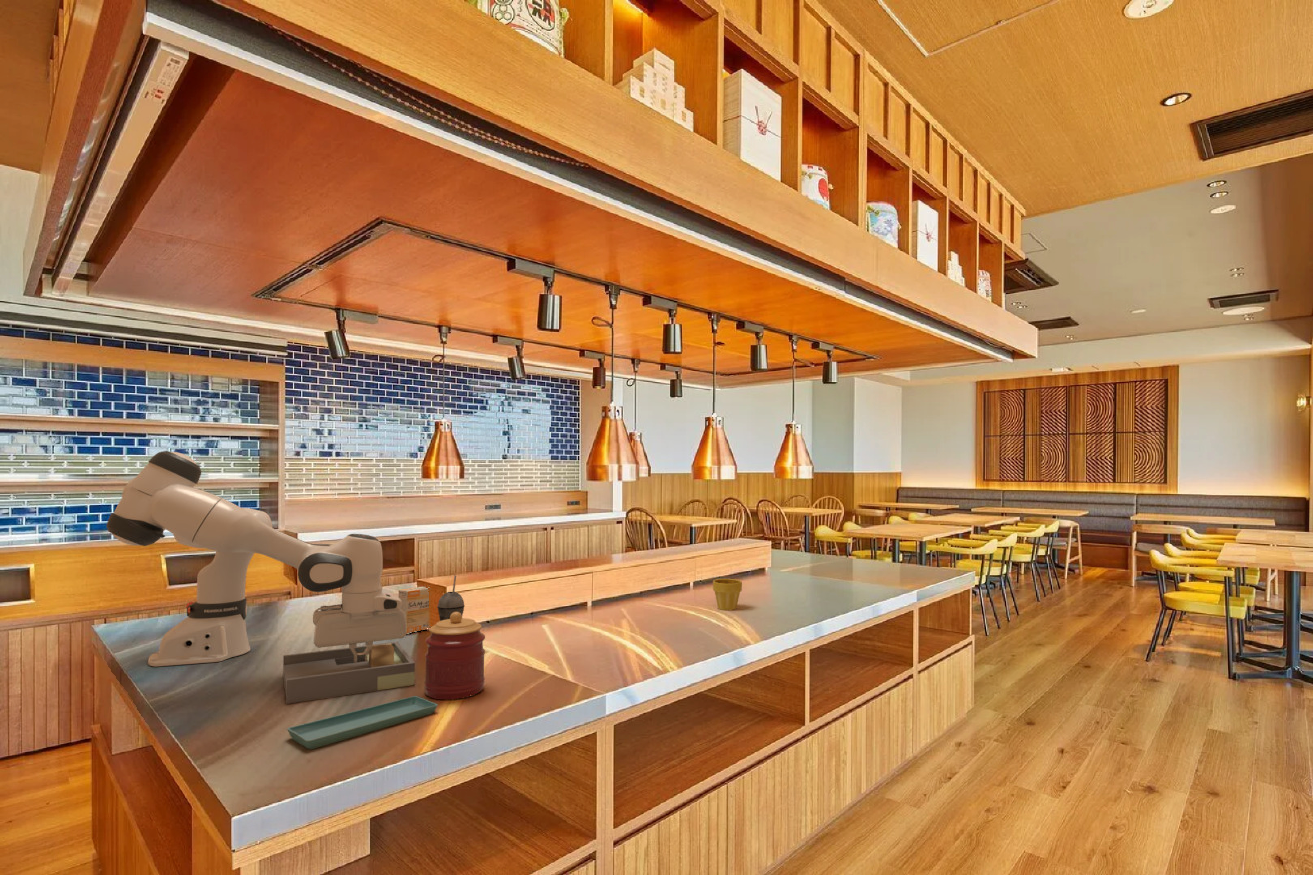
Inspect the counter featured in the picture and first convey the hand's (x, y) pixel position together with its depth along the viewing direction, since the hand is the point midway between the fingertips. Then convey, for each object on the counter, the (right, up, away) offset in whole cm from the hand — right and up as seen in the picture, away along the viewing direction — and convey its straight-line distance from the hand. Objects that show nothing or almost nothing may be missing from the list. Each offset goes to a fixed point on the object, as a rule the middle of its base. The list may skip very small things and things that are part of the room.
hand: (360, 661), depth 163 cm
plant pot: (+96, -8, +83) cm, 126 cm away
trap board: (-2, -4, -1) cm, 5 cm away
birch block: (+4, -1, +2) cm, 5 cm away
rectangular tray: (+14, -4, -29) cm, 32 cm away
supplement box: (-4, -6, +47) cm, 47 cm away
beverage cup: (+13, -6, +27) cm, 31 cm away
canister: (+25, -4, -8) cm, 27 cm away
